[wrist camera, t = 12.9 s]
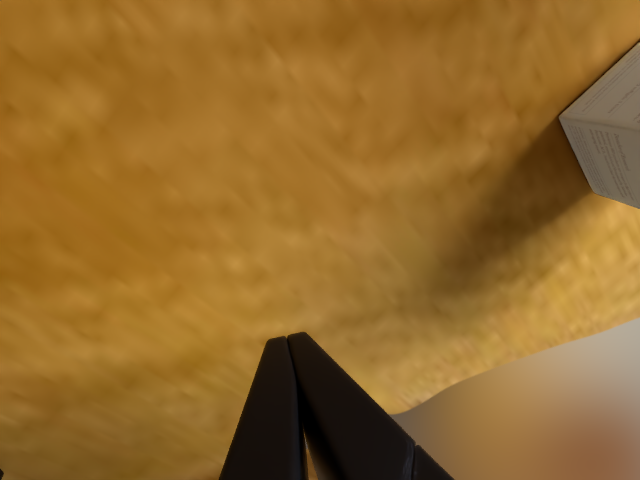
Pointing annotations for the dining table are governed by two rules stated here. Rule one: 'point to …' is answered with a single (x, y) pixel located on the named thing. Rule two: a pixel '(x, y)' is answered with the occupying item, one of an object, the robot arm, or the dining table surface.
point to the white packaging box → (609, 131)
